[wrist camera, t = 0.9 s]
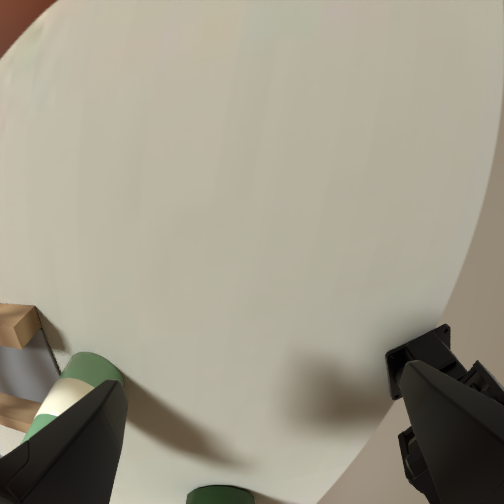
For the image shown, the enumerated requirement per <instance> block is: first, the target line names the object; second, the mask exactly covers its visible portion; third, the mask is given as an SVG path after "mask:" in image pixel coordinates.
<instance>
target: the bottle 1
mask: <svg viewBox="0 0 504 504" xmlns="http://www.w3.org/2000/svg"><path fill="white" fill-rule="evenodd" d="M106 379H116V380H119V381H120V382H121V384H122V386H123V388H124V381H123V378H122V375H121V373H120V372H119V370H118V369H117V368H116V367H115V366H114V365H113V364H112V363H111V362H109V361H108V360H107V359H105V358H103V357H101V356H99V355H97V354H94V353H90V352H80V353H77V354H75V355H73V356H72V357H71V359H70V360H69V362H68V364H67V365H66V367H65V368H64V370H63V372H62V373H61V375H60V376H59V378H58V380H57V381H56V382H55V383H54V385H53V387H52V388H51V390H50V392H49V393H48V395H47V397H46V398H45V400H44V402H43V404H42V405H41V407H40V409H39V410H38V412H37V414H36V416H35V418H34V421H33V423H32V424H31V426H30V428H29V430H28V432H27V434H26V435H25V437H24V439H23V441H22V443H23V442H25V441H26V440H29V438H30V437H31V436H33V435H34V434H35V433H37V432H38V431H39V430H41V429H42V428H43V427H45V426H46V425H47V424H48V423H50V422H51V421H52V420H54V419H55V418H56V417H58V416H59V415H60V414H62V413H63V412H64V411H65V410H67V409H68V408H69V407H71V406H72V405H73V404H75V403H76V402H77V401H78V400H80V399H81V398H82V397H84V396H85V395H86V394H88V393H89V392H90V391H91V390H93V389H94V388H95V387H97V386H98V385H99V384H101V383H102V382H103V381H104V380H106ZM22 443H21V444H22Z"/></svg>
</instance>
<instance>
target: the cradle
mask: <svg viewBox="0 0 504 504" xmlns="http://www.w3.org/2000/svg"><path fill="white" fill-rule="evenodd" d="M41 327H42V326H41V323H40V320H39V317H38V314H37V311H36V308H35V306H31V305H15V304H1V303H0V424H1V425H3V426H6V427H9V428H12V429H15V430H18V431H21V432H24V433H27V432H28V430H29V428H30V426H31V424H32V423H33V421H34V418H35V416H36V414H37V412H38V410H39V409H40V407H41V405H42V404H43V402H44V400H45V398H46V397H47V395H48V393H49V392H50V390H51V388H52V387H53V385H54V383H55V382H56V381H57V380H58V378H59V376H60V372H59V370H58V368H57V365H56V363H55V361H54V358H53V356H52V353H51V351H50V348H49V345H48V343H47V340H46V337H45V335H44V332H43V329H42V328H41Z"/></svg>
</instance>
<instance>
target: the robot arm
mask: <svg viewBox="0 0 504 504" xmlns="http://www.w3.org/2000/svg"><path fill="white" fill-rule="evenodd" d="M390 356H391V357H390ZM385 360H386V366H387V373H388V379H389V387H390V394H391V397H392V399H393V400H397V399H399V398H402V397H403V399H404V402H405V406H406V409H407V412H408V415H409V419H410V423H411V426H410V427H409V428H408V429H407V430H406V431H403V432H402V433H400V434H399V435H398V439H399V445H400V450H401V455H402V460H403V465H404V469H405V475H406V478H407V479H408V481H409V483H410V484H411V485H413V486H414V487H415V488H416V489H417V490H418V491H420V492H421V493H423V494H424V495H425V496H426V498H427V500H428V501H429V503H430V504H504V387H503V386H502V385H501V384H500V383H499V382H498V381H497V380H496V378H495V377H494V376H493V375H492V374H491V373H490V372H489V371H488V370H487V369H486V368H485V367H484V366H483V365H482V364H481V363H480V362H479V361H478V360H477V361H476V362H475V363H474V364H473V367H472V368H471V369H470V371H467V370H466V369H465V368H464V367H463V365H462V364H461V363H460V362H459V361H458V359H457V358H456V357H455V355H454V354H452V352H451V351H450V327H449V326H448V325H447V324H443V325H441V326H440V327H438V328H436V329H434V330H432V331H430V332H428V333H426V334H424V335H422V336H420V337H418V338H416V339H414V340H412V341H410V342H408V343H406V344H403V345H401V346H399V347H397V348H395V349H393V350H390V351H389V352H387V353H386V355H385ZM127 409H128V400H127V397H126V394H125V392H124V389H123V386H122V384H121V382H120V381H119V380H116V379H106V380H104V381H103V382H102V383H101V384H99V385H98V386H97V387H95V388H94V389H93V390H91V391H90V392H89V393H88V394H86V395H85V396H84V397H82V398H81V399H80V400H78V401H77V402H76V403H75V404H73V405H72V406H71V407H69V408H68V409H67V410H65V411H64V412H63V413H62V414H60V415H59V416H58V417H56V418H55V419H54V420H52V421H51V422H50V423H48V424H47V425H46V426H45V427H43V428H42V429H41V430H39V431H38V432H37V433H35V434H34V435H33V436H31V437H30V438H29V440H26V441H25V442H23V443H22V444H21V445H19V446H18V447H17V448H15V449H14V450H12V451H11V452H10V453H8V454H7V455H5V456H4V457H2V458H0V504H109V502H110V497H111V493H112V488H113V484H114V479H115V475H116V471H117V467H118V463H119V459H120V455H121V450H122V445H123V438H124V430H125V423H126V416H127Z"/></svg>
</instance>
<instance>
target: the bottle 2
mask: <svg viewBox="0 0 504 504" xmlns="http://www.w3.org/2000/svg"><path fill="white" fill-rule="evenodd" d="M186 504H255V503H254V497H253V496H252V495H250V494H249V493H248V492H246V491H244V490H240V489H236V488H232V487H228V486H209V487H204V488H198V489H195V490H193V491H192V492H190V493H189V494H187V500H186Z"/></svg>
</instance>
